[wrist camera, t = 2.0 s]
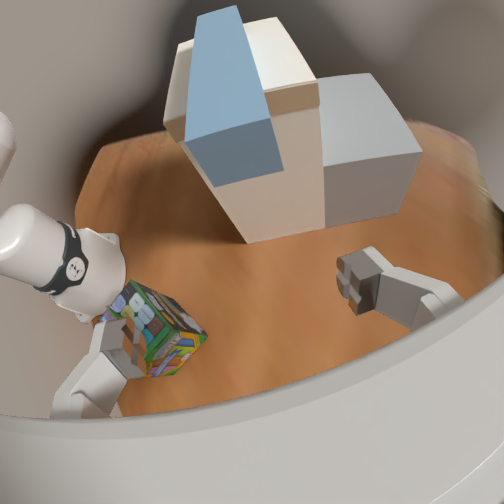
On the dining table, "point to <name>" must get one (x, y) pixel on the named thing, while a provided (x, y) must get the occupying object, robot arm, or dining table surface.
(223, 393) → the dining table surface
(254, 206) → the carton
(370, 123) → the block
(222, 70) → the blue square bar
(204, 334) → the chalk box
